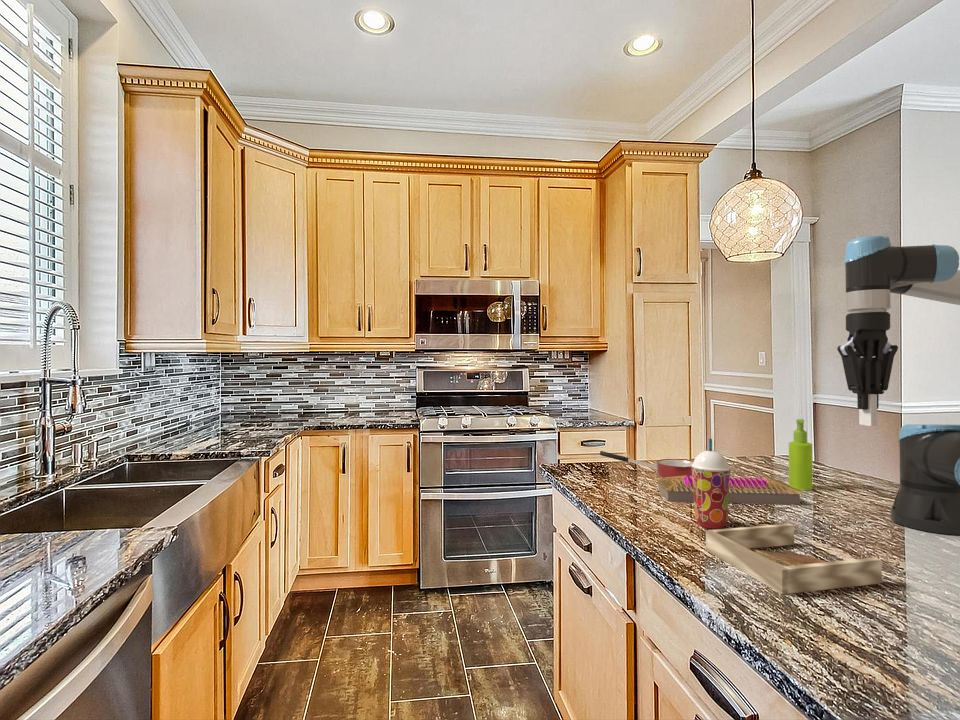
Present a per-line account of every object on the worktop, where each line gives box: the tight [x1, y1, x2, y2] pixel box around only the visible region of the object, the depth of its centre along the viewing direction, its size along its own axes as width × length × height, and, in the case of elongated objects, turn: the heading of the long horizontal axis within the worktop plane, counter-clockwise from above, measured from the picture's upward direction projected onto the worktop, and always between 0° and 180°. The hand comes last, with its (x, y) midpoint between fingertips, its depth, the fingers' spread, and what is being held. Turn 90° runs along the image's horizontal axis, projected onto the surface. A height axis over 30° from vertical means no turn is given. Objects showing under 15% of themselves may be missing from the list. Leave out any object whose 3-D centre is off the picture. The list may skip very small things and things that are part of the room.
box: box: [705, 522, 883, 595], centre depth 99 cm, size 20×20×4 cm
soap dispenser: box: [788, 418, 813, 491], centre depth 156 cm, size 6×7×20 cm
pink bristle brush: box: [654, 476, 806, 506], centre depth 147 cm, size 35×14×6 cm, turn 82°
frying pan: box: [599, 450, 694, 481], centre depth 177 cm, size 32×13×6 cm, turn 68°
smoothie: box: [691, 438, 732, 530], centre depth 123 cm, size 8×8×20 cm
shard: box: [754, 548, 826, 567], centre depth 101 cm, size 11×8×2 cm
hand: (868, 425), depth 111 cm, fingers closed
